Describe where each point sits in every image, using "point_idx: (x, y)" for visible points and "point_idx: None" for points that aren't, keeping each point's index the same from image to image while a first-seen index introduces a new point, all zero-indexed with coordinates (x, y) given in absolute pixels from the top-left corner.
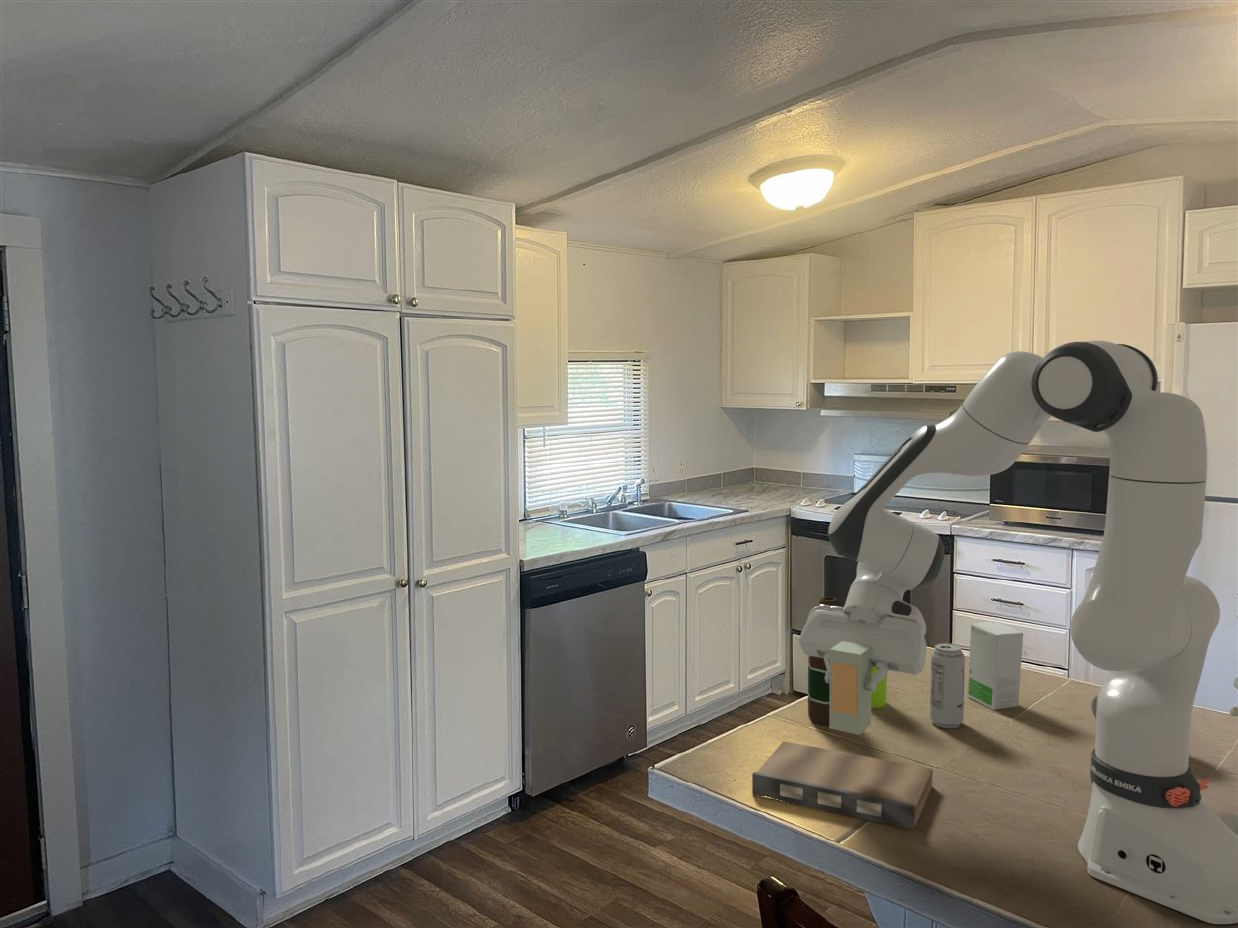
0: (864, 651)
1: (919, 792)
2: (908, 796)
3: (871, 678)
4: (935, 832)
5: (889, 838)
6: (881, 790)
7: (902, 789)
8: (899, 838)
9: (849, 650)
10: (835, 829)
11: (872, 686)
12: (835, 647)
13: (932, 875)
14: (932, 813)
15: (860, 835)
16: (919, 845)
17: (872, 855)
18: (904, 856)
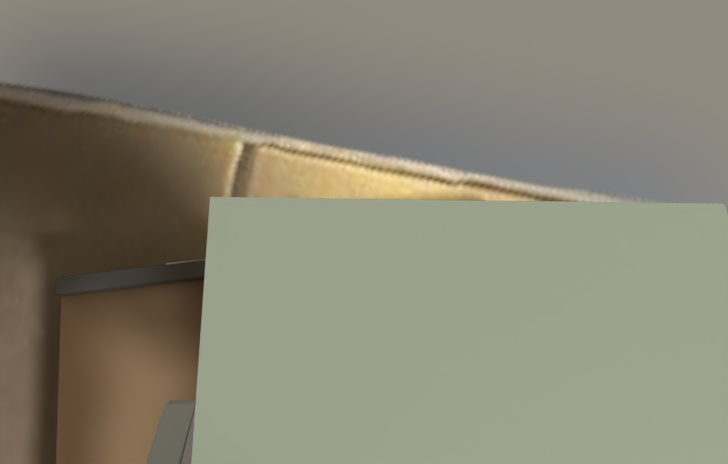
0: (198, 417)
1: (66, 418)
2: (97, 366)
3: (178, 458)
4: (24, 317)
5: (138, 220)
6: (191, 356)
7: (127, 406)
8: (114, 233)
9: (462, 309)
10: (273, 192)
11: (166, 405)
12: (723, 333)
13: (6, 118)
14: (49, 431)
15: (209, 197)
16: (57, 226)
17: (156, 130)
18: (84, 160)
